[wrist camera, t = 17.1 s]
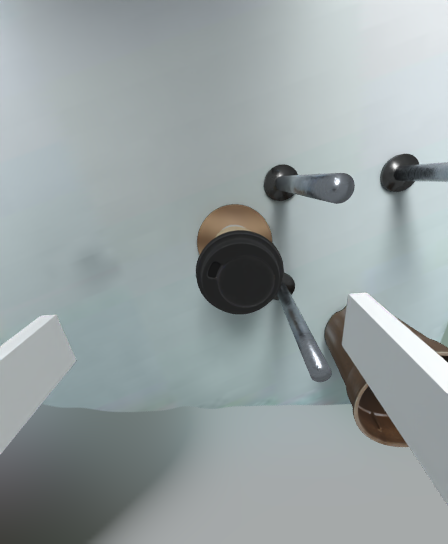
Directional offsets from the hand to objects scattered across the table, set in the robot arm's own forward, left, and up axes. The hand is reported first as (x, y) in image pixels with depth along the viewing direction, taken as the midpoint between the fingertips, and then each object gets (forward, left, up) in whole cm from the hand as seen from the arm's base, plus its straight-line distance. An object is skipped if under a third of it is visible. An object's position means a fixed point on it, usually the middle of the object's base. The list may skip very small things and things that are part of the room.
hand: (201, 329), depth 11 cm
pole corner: (-5, +9, -29) cm, 30 cm away
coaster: (+3, +2, -29) cm, 29 cm away
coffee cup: (+3, +2, -28) cm, 28 cm away
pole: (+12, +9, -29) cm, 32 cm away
